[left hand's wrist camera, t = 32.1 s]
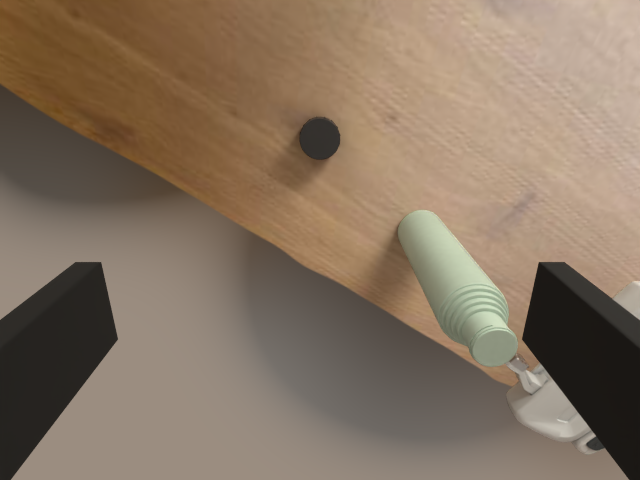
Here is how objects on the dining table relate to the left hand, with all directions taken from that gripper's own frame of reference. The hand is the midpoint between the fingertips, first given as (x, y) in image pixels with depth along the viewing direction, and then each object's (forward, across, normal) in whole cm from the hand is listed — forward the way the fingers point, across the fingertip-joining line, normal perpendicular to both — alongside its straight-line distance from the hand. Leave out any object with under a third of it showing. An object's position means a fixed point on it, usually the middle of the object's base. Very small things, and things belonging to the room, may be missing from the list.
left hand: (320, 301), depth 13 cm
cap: (+35, 0, 0) cm, 35 cm away
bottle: (+36, +12, -11) cm, 40 cm away
